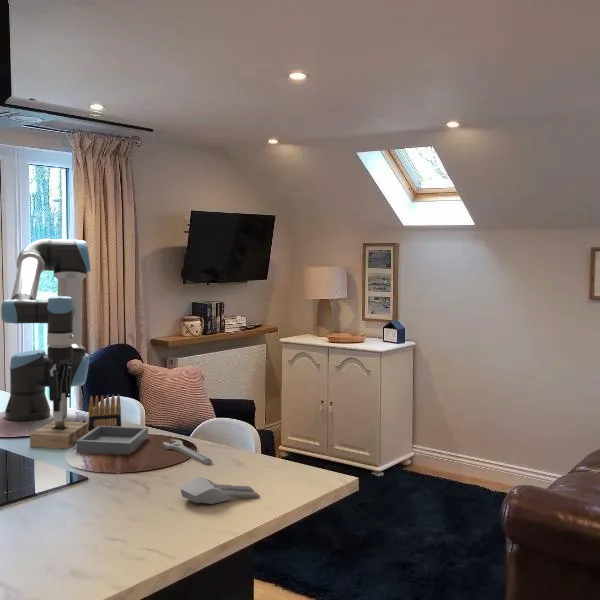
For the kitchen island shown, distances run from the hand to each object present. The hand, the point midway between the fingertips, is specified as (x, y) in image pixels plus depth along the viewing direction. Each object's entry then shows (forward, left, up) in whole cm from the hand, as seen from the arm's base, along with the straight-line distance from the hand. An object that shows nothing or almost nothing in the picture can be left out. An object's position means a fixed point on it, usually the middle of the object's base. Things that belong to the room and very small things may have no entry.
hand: (60, 419), depth 223 cm
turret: (+43, +59, -7) cm, 73 cm away
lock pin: (0, 0, -6) cm, 6 cm away
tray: (+2, +18, -7) cm, 19 cm away
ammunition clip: (-15, +9, -7) cm, 19 cm away
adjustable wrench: (+7, +42, -7) cm, 43 cm away
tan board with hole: (0, 0, -7) cm, 7 cm away
